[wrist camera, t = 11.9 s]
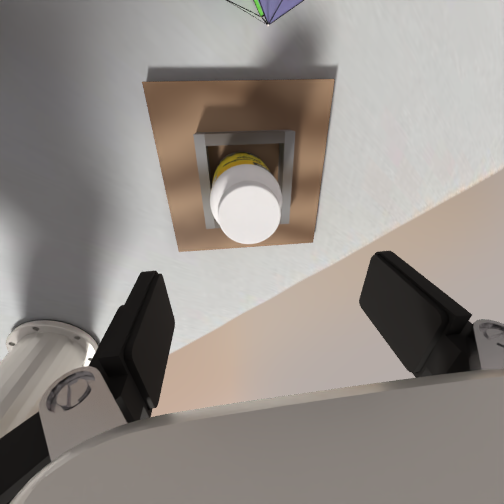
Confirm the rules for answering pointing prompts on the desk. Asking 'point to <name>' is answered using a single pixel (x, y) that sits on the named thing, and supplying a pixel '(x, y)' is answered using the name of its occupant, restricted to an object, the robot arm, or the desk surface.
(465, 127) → the desk surface
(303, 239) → the carrier plate
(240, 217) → the pill bottle
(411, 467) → the robot arm
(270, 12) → the geometric puzzle
